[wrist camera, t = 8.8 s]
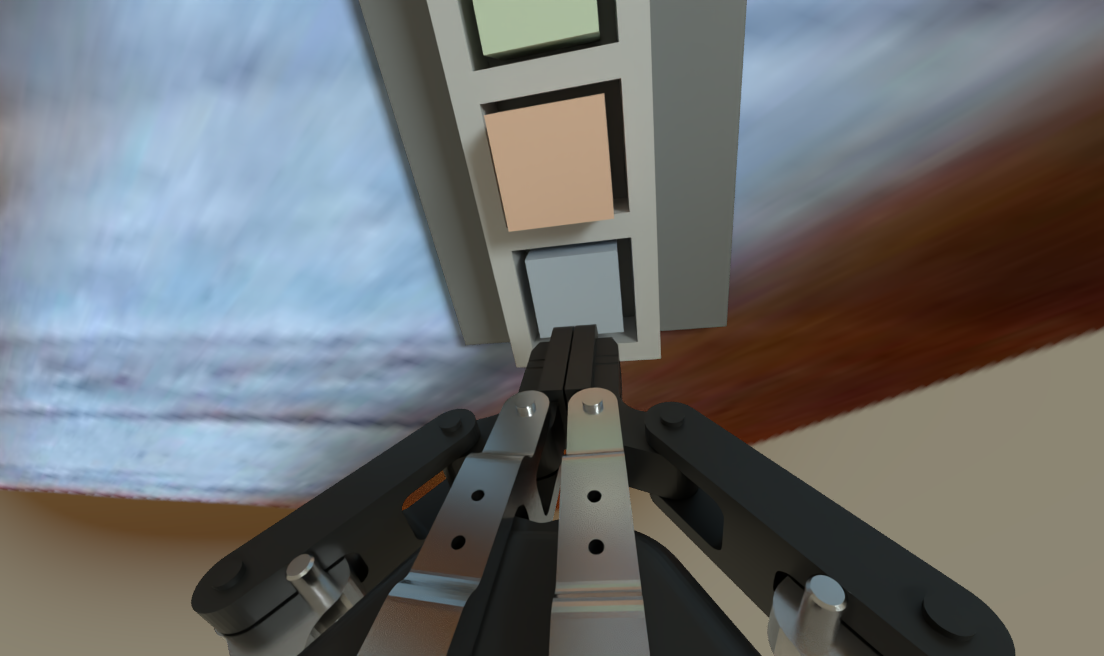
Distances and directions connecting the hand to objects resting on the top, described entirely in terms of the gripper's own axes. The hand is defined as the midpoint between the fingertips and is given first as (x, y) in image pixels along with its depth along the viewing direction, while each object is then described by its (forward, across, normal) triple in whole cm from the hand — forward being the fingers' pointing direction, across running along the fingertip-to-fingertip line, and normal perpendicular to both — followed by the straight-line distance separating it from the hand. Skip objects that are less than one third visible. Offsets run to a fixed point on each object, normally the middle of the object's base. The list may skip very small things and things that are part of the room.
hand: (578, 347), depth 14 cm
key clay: (+5, 0, -6) cm, 8 cm away
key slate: (+7, 0, 0) cm, 7 cm away
